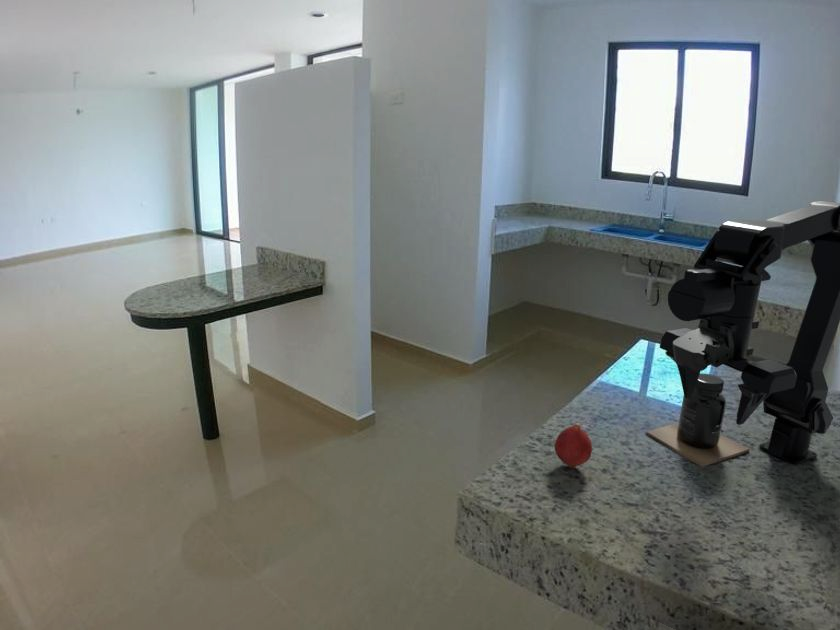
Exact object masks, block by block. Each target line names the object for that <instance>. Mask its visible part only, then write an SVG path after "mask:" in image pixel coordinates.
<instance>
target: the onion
mask: <svg viewBox="0 0 840 630" xmlns="http://www.w3.org/2000/svg"><path fill="white" fill-rule="evenodd" d="M554 451H555V454H556V456H557V458H558V459H559V460H560V461H561V462H562V463H564V464H565V465H566V466H568V467H569V468H571V469H574V468H576V467H578V466H581V465H583V464H585V463H587V462H588V460H589V459H590V458H591V455H592V451H593V444H592V440H591V438H590V437H589V435H588V434H587V433H586V431H584V430H583V429H582V428H581V424H580V423H578V422H577V423H575V424H573V425H571V426H568V427H566V428H564V429H563V430H562V431H561V432H559V434H558V435H557V437H556V439H555V443H554Z"/></svg>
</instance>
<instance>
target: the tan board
mask: <svg viewBox="0 0 840 630" xmlns="http://www.w3.org/2000/svg"><path fill="white" fill-rule="evenodd" d="M678 424H679V422H676V423H673V424H668V425H665V426H661V427H658V428H655V429H651V430H648V431H647V430H646V431H645V434H646V436H649V437H650V438H652V439H653V440H656V441H657V442H658V443H660V444H662V445H664V446H665V447H667V448H668V449H670V450H672V451H674V452H675V453H676V454H679V455H680V456H682V457H683V458H686V459H687V460H689V461H691V462H693V463H694V464H696V465H697V466H699V467H701V468H704V467H706V466H709V465H712V464H715V463H718V462H721V461H725V460H728V459H730V458H733V457H737V456H740V455H743V454H745V453H749V452H750V448H749V447H746V446H744V445H742V444H740V443H738V442H737V441H735V440H733V439H731V438H729V437H727V436H725V435H723V434H722V433H720V438H719V442H718V444H717V446H715V447H714V448H710V449H702V448H696V447H693V446H690V445H687V444H685V443H684V442H682V441H681V440H680V439H679V438H678V436H677V430H678Z"/></svg>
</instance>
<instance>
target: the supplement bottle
mask: <svg viewBox="0 0 840 630" xmlns="http://www.w3.org/2000/svg"><path fill="white" fill-rule="evenodd" d="M724 384H725V381H724V379H723V378H721V377H720V376H717V375H714V374H709V373H700V374H699V378H698V381H697V384H696V387H695V390H694V392H693V395H692V397H691V398H685V397H684V396H683V398H682V402H681V403H682V404H681V408H680V414H679V419H678V423H679V424H678V430H677V436H678V438H679V439H680V440H681V441H682V442H684V443H685V444H687V445H690V446H693V447H696V448H702V449H710V448H714V447H715V446H717V444H718V442H719V438H720V434H722V433H721V432H722V427H723V423H724V418H725V413H726V408H727V402H728V401H727V399H726V396H724V394H723V391H724V386H725V385H724Z"/></svg>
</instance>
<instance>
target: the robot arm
mask: <svg viewBox="0 0 840 630" xmlns="http://www.w3.org/2000/svg"><path fill="white" fill-rule="evenodd" d="M804 242H808V243H809V244H810V246H811V247H812V250H811V251H812V252H811V255H810V256H811V257H810V264H811V267H812V269H813V272H814V275H815V280H814V281H815V282H814V284H813V287H812V290H811V294H810V296H809V299H808V302H807V305H806V308H805V311H804V314H803V317H802V320H801V322H800V323H801V324H800V325H799V329H798V332H797V335H796V338H795V341H794V344H793V347H792V349H791V352H790V356H789V358H788V361H787V362H786V363H785V364H783V363H781V362H778V361H777V360H773V359H771V358H769V359H764V360H759V361H752V360H750V359H747V357H748V356H752V355H753V353H754V347H751V346H749V343H750V339H751V333H752V330H754V329H758V328H759V325H760V320H756V319H755V315H756V311H757V310H756V309H757V304H758V299H759V294H760V289H761V285H762V282H766V281H769V280H771V278H772V276H771V275H770V274H771V273H769V272H768V271H767V270H766V268H767V267H769V266H771V265H772V264H774V263H775V262H777V261H778V260H780V259H781V257H782V254H783V251H784V250H785V249H788V248H791V247H793V246H796V245H799V244H802V243H804ZM667 302H668V304H667V305H668V307H669V309H670V312H671V313H672V314H673V316H674V317H675V318H677V319H679V320H680V321H682V322H691V321H698V320H699V323H698V326H697V328H696V329H690V328H688V327H683V328H678V329H672V330H667V331H666V330H665V332H664V333H663V334H662V336H661V337H660V343H659V349H661V350H664V351H665V355H666V356H667V357H669V358H670V359H671V360H672V361H673V362H674V364H676V367H677V370H678V372H679V378H680V381H681V386H682V392H683V397H685V398H691V397H692V395H693V392H694V390H695V387H696V384H697V381H698V378H699V374H701V372H702V371H705V370H707V368H708V367H709V366H712V367H714V368H716V369H717V368H718V367H721V366H722V365H723V366H727V367H728V368H731V369H734V370H736V371H739V372H740V373H741V375H740V378H741V381H742V383H740V384H737V388H738V389H739V391H740V393H741V395H740V400H739V404H738V408H737V413H736V419H735V420H736V423H735V424H736V425H738V426H739V425H744V424H745V423H746V421H747V420H748V419H749V418H750V417H751V415H753V413H754V412H755V411H756V410H757V408H758V407H759V406H760V405H761V404H762V403H763V413H764V414H765V415H770V416H771V417H774V420H773V425H772V430H771V434H770V438H769V440H768V441H765V442H762V443H760V444H759V448H760V449H762V450H764V451H765V452H768V453H770V454H772V455H773V456H776V457H778V458H780V459H782V460H784V461H786V462H788V463H789V464H791V465H794V466H795V465H798V464H801V463H804V462H806V461H807V462H808V461H810V460H812V459H815V458H817V457H818V453H816V452H814V451H812V450H810V446H811V442H812V438H813V435H814V434H822V435H824V434H826V433H827V430H828V429H829V428H830V426H831V425H832V422H833V419H834V416H833V414H832V412H831V409H830V408H829V406H828V404H827V403H826V400H827V398H828V397H827V396H828V393H829V386H828V383H827V381H826V377H825V374H824V371H823V370H824V367H825V365H826V361H827V359H828V355H829V352H830V349H831V347H832V344H833V342H834V339H835V335H836V334H837V330H838V327H839V325H840V202H835V201H824V200H817V201H813V202H811V203H810V204H809V205H806V206H803V207H801V208H798V209H795V210H792V211H789V212H786V213H783V214H779V215H777V216H774V217H770V218H768V219H764V220H753V219H752V220H748V219H747V220H745V219H743V220H742V219H741V220H729V221H726V222H723V224H721V225H720V226H719V227H718V230H716V232H714V234H713V236H712V238H711V239H710V240H709V242H708V243H707V245H706V246H705V248H704V249H703V251H702V253H701V254H700V255H699V257H698V259H697V260H696V262H695V263H694V265H693V269H686V270H685V271H684V277H683V279H679V280H677V281H676V282H674V283H673V285H671V288H670V290H669V291H668V293H667Z"/></svg>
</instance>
